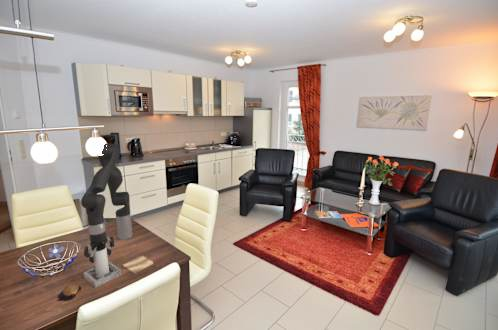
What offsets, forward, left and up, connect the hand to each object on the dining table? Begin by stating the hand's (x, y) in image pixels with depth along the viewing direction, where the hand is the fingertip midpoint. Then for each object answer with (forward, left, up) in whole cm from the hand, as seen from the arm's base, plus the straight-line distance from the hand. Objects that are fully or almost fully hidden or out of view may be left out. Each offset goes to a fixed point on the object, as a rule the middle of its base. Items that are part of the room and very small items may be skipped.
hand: (100, 258), depth 136 cm
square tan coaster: (+6, +17, -11) cm, 21 cm away
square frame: (0, 0, -11) cm, 11 cm away
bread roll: (0, -16, -11) cm, 20 cm away
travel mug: (0, 0, -11) cm, 11 cm away
